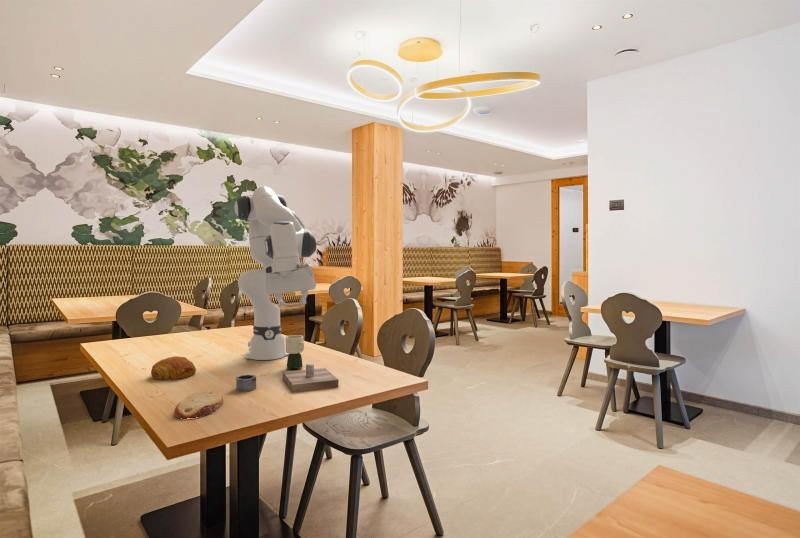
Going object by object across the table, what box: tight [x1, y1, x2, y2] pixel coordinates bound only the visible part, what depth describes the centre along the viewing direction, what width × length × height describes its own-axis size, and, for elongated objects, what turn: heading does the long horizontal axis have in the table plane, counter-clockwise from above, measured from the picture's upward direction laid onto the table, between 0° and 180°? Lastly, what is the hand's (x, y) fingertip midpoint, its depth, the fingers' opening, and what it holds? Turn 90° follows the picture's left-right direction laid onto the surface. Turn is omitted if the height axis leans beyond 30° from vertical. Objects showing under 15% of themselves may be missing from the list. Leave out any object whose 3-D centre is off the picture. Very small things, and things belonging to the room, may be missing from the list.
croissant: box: [150, 356, 197, 381], centre depth 179 cm, size 14×16×8 cm
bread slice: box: [173, 390, 224, 419], centre depth 144 cm, size 18×18×4 cm
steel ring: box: [235, 374, 257, 393], centre depth 163 cm, size 6×6×4 cm
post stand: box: [282, 363, 339, 393], centre depth 171 cm, size 18×16×6 cm
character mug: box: [285, 334, 305, 370], centre depth 191 cm, size 11×7×13 cm, turn 52°
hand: (292, 305), depth 167 cm, fingers open, 8 cm apart
